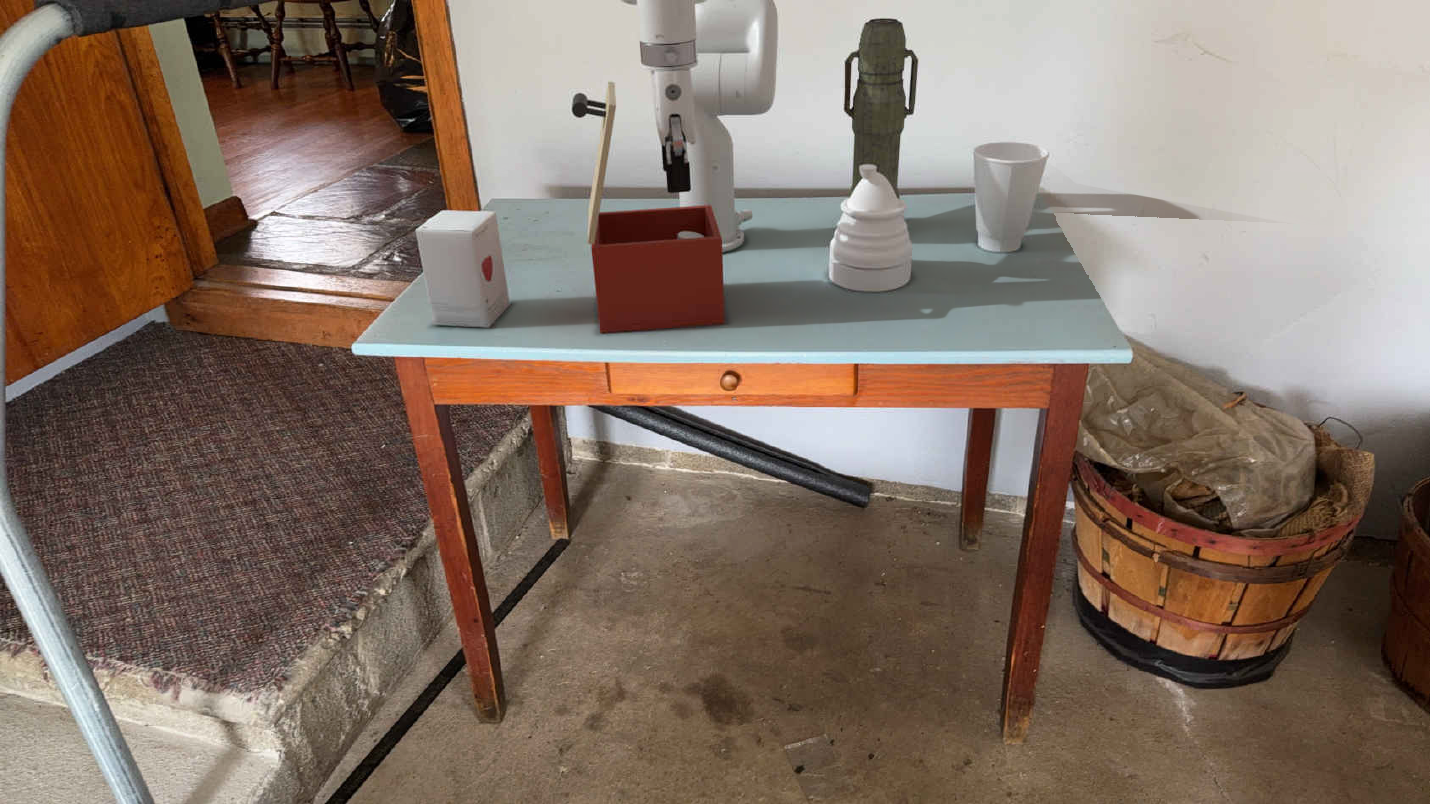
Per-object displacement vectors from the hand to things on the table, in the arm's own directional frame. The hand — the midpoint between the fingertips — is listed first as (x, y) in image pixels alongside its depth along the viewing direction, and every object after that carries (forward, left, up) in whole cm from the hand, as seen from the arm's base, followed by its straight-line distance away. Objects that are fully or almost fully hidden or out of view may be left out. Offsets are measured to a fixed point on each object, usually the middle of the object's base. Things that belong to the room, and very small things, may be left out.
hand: (676, 180), depth 131 cm
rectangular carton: (+23, -22, -19) cm, 37 cm away
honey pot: (-27, +15, -19) cm, 36 cm away
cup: (-52, +24, -19) cm, 60 cm away
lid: (+8, -6, +3) cm, 10 cm away
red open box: (+3, -2, -19) cm, 19 cm away
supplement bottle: (0, 0, -18) cm, 18 cm away
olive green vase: (-46, +2, -19) cm, 50 cm away
